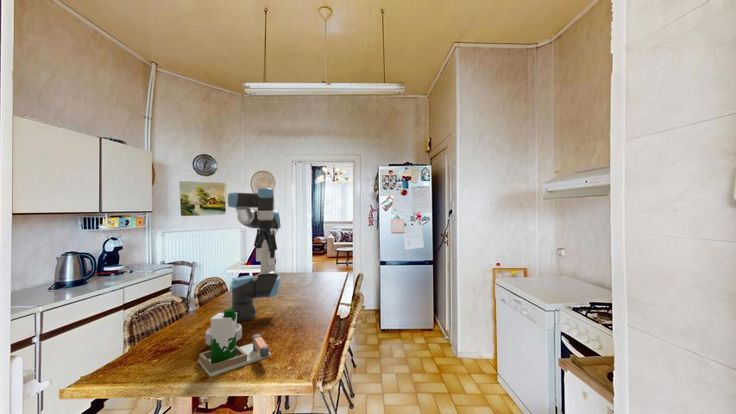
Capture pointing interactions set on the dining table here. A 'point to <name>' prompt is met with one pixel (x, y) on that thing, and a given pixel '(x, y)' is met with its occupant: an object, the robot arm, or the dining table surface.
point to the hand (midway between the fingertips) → (264, 262)
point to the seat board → (230, 360)
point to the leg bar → (260, 345)
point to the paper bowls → (238, 334)
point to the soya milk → (223, 336)
